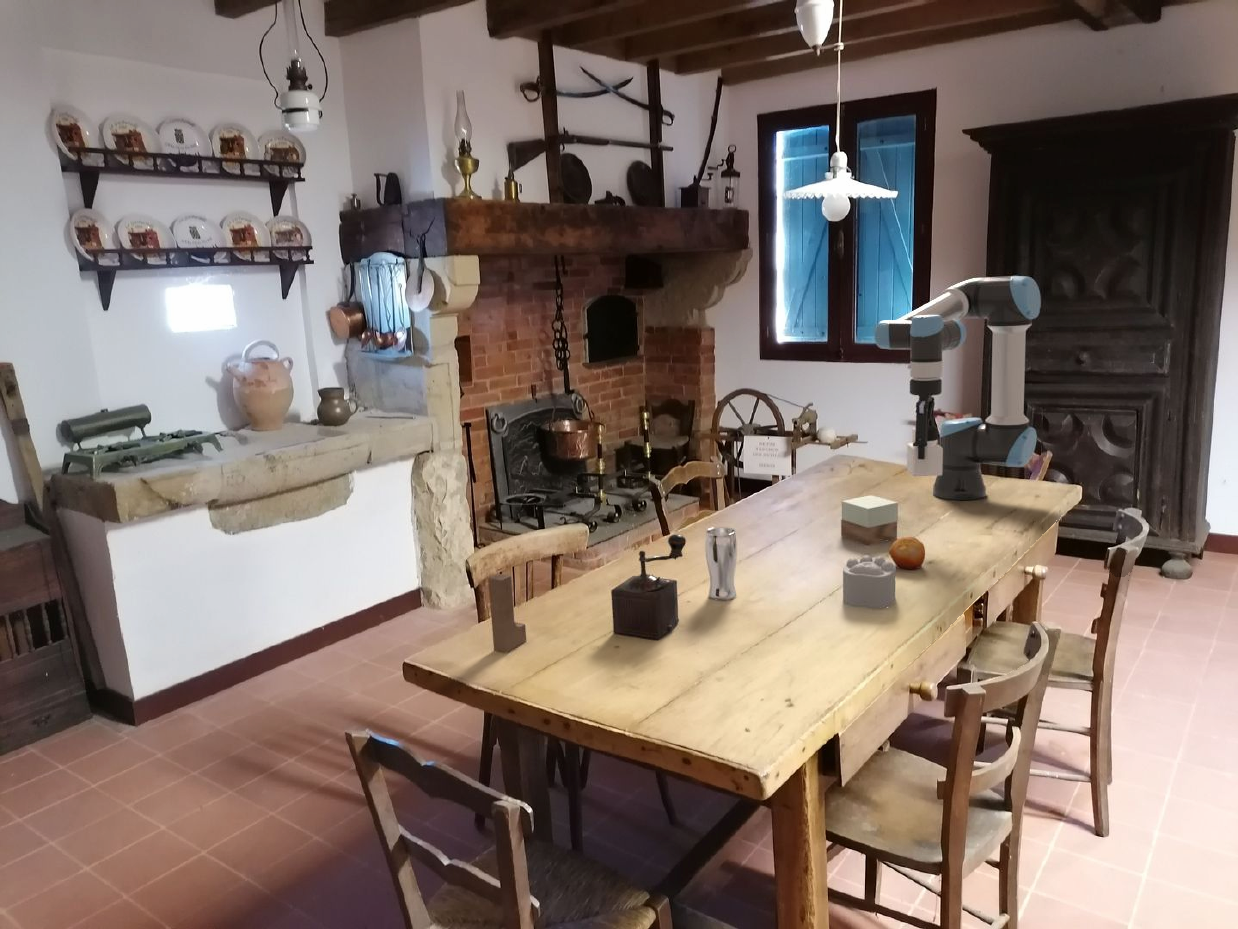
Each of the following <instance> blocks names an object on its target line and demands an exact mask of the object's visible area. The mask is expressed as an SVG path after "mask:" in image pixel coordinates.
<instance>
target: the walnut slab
mask: <svg viewBox="0 0 1238 929" xmlns="http://www.w3.org/2000/svg"><path fill="white" fill-rule="evenodd" d="M840 527H841V530H840V537H842V538H845V539H847V540H851V541H853V540H854V542H856V541H857V543H860V544H863V545H865V546H871V545H875V544H879V543H884V542H887V541H886V540H888V541H892V540H897V539H898V521H896V522H892V523H887V524H883V525H878V526H874V527H869V528H867V527H864V526H861V525H858V524H855V523H851V522H848V521H845V520H842V519H841V520H840ZM883 541H884V542H883Z"/></svg>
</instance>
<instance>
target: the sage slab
mask: <svg viewBox="0 0 1238 929" xmlns="http://www.w3.org/2000/svg"><path fill="white" fill-rule="evenodd" d="M898 506H899V502H897V501H894V500H889V499H886V498H883V497H879V496H874V495H873V494H872V495H866V496H865V495H864V496H860V497H856V498H855V497H854V498H852V499H851V498H850V499H847V500H845V499H844V500H842V501H841V520H845V521H848V522H851V523H855V524H858V525H861V526H864V527H867V528H869V527H874V526H878V525H883V524H887V523H892V522H896V521H897V522H898V521H899V508H898Z"/></svg>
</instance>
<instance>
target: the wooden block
mask: <svg viewBox="0 0 1238 929" xmlns="http://www.w3.org/2000/svg"><path fill="white" fill-rule="evenodd" d="M487 582H488V584H487V585H488V593H489V606H490V615H491V616H490V618H491V628H492V629H491V630H492V640H493V643H492V644H493V650H494V651H496V652H501V653H505V654H507V653H509V652H510V651H512V650H514V649H515V648H517V647H519V646H520V645H523V643H525V642H527V631H526V630H527V629H526V624H525V623H523V622H522V623H521V622H516V621H515V612H514V599H513V598H514V597H513V586H512V576H511V575H510V574H509V575H508V574H502V573H496V574H494V575H492V576H490V577H488V578H487Z"/></svg>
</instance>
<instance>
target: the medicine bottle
mask: <svg viewBox="0 0 1238 929" xmlns="http://www.w3.org/2000/svg"><path fill="white" fill-rule="evenodd" d="M938 430H939V429H938V428H937V427H936V426H935V425H934V426H930V425H928V437H927V446H928V471H927V472H916V446H913V443H915V433H916V426H915V427H913V428H912V432H911V433H912V435H911V438H912V439H911V440H912V441H911V442H909V443H907V446H906V447H907V448H906V471H907V472H909V473H910V474H911V475H912V476H913V477H933V476H934V477H935V476H936V477H937V476H939V475H942V460H943V448H942V447H941V446H940V444H938V438H939V437H938V435H939V433H938V432H939V431H938Z"/></svg>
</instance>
